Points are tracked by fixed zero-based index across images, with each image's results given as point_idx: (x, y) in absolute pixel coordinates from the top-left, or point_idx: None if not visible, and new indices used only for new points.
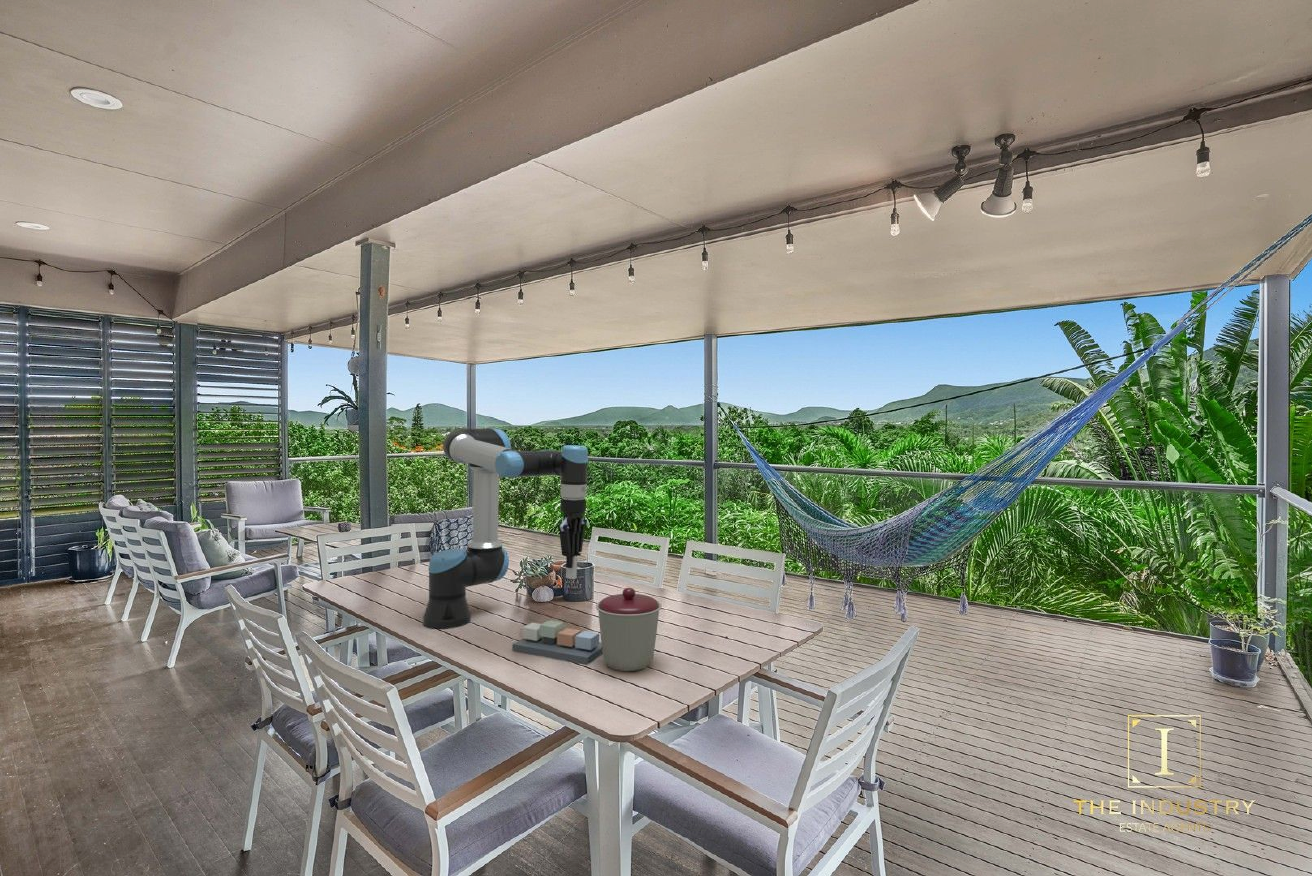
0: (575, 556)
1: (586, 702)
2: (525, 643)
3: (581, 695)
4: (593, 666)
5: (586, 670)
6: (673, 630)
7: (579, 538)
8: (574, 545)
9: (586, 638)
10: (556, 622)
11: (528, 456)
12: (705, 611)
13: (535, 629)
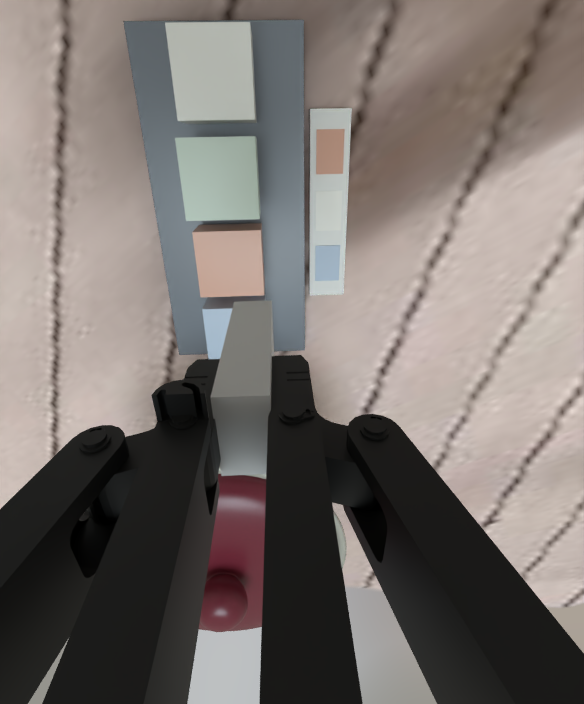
0: (252, 469)
1: (17, 441)
2: (161, 78)
3: (34, 418)
4: (184, 362)
5: (152, 360)
6: (514, 418)
7: (421, 641)
8: (202, 597)
9: (207, 349)
10: (242, 191)
11: None
12: None
13: (177, 111)
